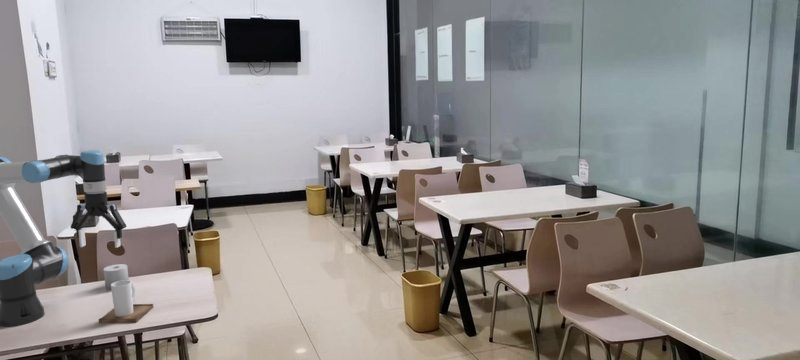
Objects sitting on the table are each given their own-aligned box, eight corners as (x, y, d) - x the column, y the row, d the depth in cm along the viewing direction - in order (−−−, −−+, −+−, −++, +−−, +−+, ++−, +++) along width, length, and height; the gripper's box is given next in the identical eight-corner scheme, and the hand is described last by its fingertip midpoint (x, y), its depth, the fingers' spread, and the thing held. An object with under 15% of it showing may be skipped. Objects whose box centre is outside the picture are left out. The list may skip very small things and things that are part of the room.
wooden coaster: (99, 323, 214) (98, 319, 213) (117, 308, 228) (117, 304, 227) (136, 322, 213) (136, 318, 213) (153, 307, 227) (152, 303, 227)
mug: (125, 318, 215) (121, 287, 213) (110, 316, 216) (106, 285, 214) (144, 307, 224) (140, 277, 222) (129, 306, 226) (125, 276, 224)
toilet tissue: (126, 279, 262) (124, 260, 260) (130, 287, 251) (128, 268, 249) (104, 283, 257) (101, 264, 256) (107, 291, 246) (104, 272, 245)
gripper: (56, 193, 215) (62, 248, 219) (123, 194, 214) (127, 249, 218) (68, 189, 222) (74, 243, 226) (133, 190, 221) (137, 244, 225)
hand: (100, 246), depth 222 cm, fingers open, 13 cm apart
